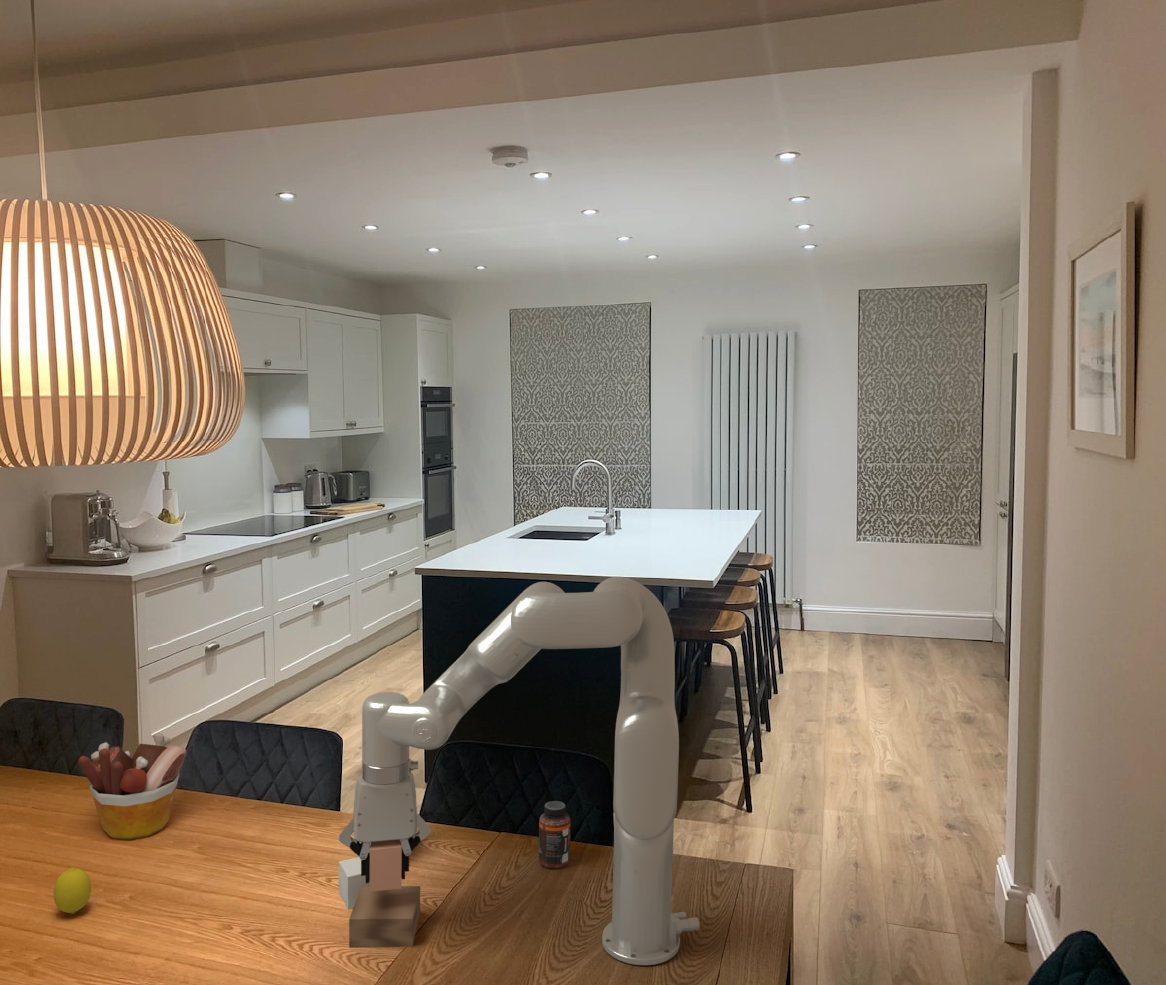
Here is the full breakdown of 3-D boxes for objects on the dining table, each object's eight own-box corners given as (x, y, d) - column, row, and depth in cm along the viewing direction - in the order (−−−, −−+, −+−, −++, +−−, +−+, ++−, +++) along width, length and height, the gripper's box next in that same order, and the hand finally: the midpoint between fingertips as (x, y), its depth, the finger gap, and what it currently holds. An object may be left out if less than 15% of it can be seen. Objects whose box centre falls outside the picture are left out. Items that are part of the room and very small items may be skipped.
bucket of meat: (133, 804, 195) (131, 714, 194) (201, 812, 192) (200, 721, 190) (62, 847, 176) (58, 747, 174) (136, 857, 172) (133, 755, 171)
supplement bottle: (574, 866, 172) (575, 809, 171) (544, 872, 170) (545, 813, 169) (563, 852, 178) (564, 796, 177) (534, 857, 175) (535, 800, 174)
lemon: (57, 907, 155) (56, 862, 154) (94, 902, 157) (92, 857, 156) (51, 925, 150) (49, 878, 149) (89, 919, 152) (87, 873, 151)
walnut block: (420, 913, 156) (420, 885, 155) (412, 948, 146) (412, 918, 145) (361, 914, 155) (361, 886, 155) (349, 949, 145) (349, 919, 145)
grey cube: (372, 885, 164) (372, 853, 164) (382, 901, 159) (382, 868, 158) (339, 893, 161) (338, 861, 161) (347, 910, 156) (347, 876, 155)
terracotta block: (399, 873, 153) (400, 833, 152) (401, 888, 148) (401, 847, 147) (369, 876, 151) (369, 835, 151) (369, 891, 147) (369, 849, 146)
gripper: (436, 757, 154) (435, 861, 155) (331, 765, 149) (331, 871, 151) (440, 775, 146) (439, 883, 148) (330, 783, 142) (330, 894, 144)
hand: (385, 876), depth 150 cm, fingers closed on terracotta block, 5 cm apart
